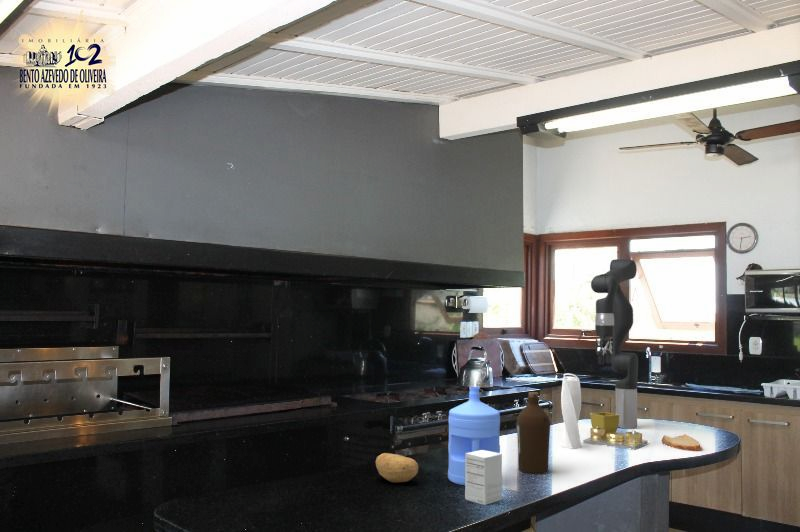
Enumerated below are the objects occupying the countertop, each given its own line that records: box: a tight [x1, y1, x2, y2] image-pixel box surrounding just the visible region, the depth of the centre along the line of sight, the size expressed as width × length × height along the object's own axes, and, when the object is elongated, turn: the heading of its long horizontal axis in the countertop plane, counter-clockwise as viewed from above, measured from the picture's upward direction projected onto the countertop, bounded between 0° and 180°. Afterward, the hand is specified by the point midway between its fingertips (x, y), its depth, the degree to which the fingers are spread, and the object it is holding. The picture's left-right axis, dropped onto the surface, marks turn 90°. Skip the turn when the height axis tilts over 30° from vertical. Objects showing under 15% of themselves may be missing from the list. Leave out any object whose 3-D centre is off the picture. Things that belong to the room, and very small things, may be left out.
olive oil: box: [516, 391, 551, 475], centre depth 227 cm, size 11×11×25 cm
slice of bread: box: [661, 434, 703, 452], centre depth 273 cm, size 18×18×4 cm
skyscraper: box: [560, 372, 582, 450], centre depth 267 cm, size 8×8×28 cm
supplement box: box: [464, 450, 503, 506], centre depth 191 cm, size 7×7×13 cm
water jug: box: [447, 386, 501, 487], centre depth 213 cm, size 16×16×28 cm
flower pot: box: [589, 411, 619, 435], centre depth 292 cm, size 9×9×9 cm
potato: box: [375, 452, 419, 483], centre depth 209 cm, size 10×14×8 cm
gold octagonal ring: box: [625, 431, 643, 444], centre depth 271 cm, size 6×6×4 cm
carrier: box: [583, 427, 648, 450], centre depth 275 cm, size 16×20×6 cm
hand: (604, 363), depth 288 cm, fingers open, 8 cm apart
